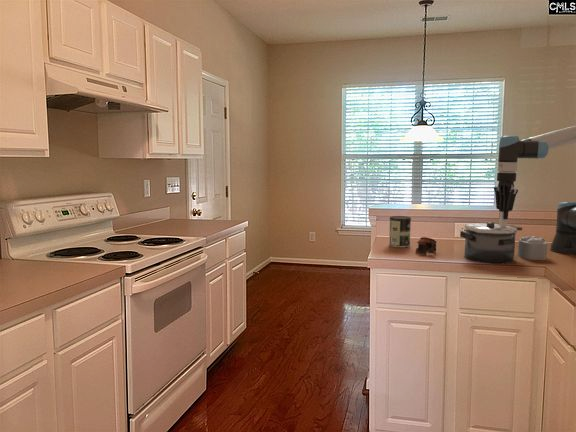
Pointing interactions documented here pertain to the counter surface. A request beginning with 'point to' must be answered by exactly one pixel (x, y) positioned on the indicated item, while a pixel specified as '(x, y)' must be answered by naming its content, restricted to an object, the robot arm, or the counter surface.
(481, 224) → the lid
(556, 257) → the counter surface
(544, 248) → the lumpy-topped squat cylinder
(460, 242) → the counter surface
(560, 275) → the counter surface
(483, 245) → the pot
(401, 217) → the coffee can
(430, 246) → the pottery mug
